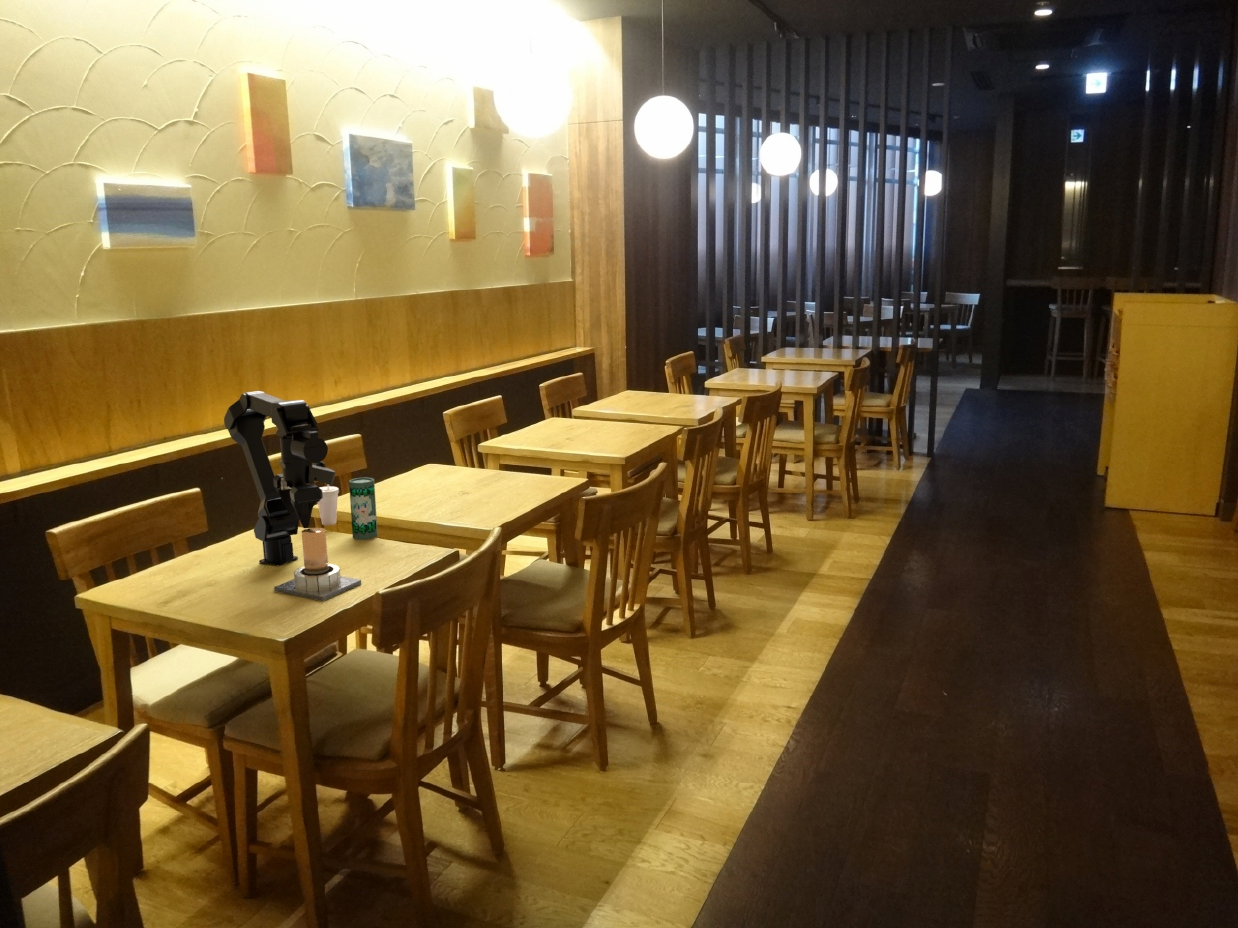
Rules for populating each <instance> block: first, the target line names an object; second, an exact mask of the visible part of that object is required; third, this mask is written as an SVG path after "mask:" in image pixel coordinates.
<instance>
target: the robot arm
mask: <svg viewBox="0 0 1238 928" xmlns="http://www.w3.org/2000/svg"><path fill="white" fill-rule="evenodd" d="M267 417H268V418H271V423H272V424H274V426H276V428H277V430H276V432H275V433H276V435H277V436H279V445H280V455H281V456H280V457H281V460H279V466H280V467H281V468H282V469H281V470H282V473H277V474H275V472H274V470H273V467H272V464H271V461H270V459H269V456H268V453H267V450H266V447H265V444H264V442H263V436H264V435H263V434H264V431H265V427H266V425H265V422H266V419H267ZM223 423H224V427H225V428H226V430H227V431H228V433H229V435H230V438H231V439H232V440H233V441H234V442H236V443H237V445H239V446H241V447H242V450H243V454H244V456H245V460H246V463H247V465H248V468H249V470H250V473H251V476H252V480H253V482H254V485H255V488H256V491H257V493H258V497H259V500H260V503H259V507H258V511H257V518H258V519H257V522H256V524H255V526H254V528H253V533H254V536H255V539H257V540H259V541H261V542H262V550H263V551H262V552H263V558H262V559H259V563H260V564H266V565H269V566H270V565H271V566H277V567H280V566H283V565H285V564H288V563H290V562H292V561H295V560H298V559H299V557H298V556H297V555H294V547H293V545H294V544H293V542H292V536H294V535H298V533H299V531H298V530H299V523H300V525H301V527H302V528H303V529H309V527H310V522H311V518H312V517H311V516H312V513H313V510H314V507H315V505H316V504H318V502H319V501H320V500H321V499H322V498H323V494H322V490H321V489H320V487H319V486H317V485H316V484H315V482H319V483H324V484H326V485H327V484H328V485H329V486H333V484H334V479H335V475H336V471H335V470H333V469H331V468H329V467H326V463H325V462H323V461H324V460H325V458H326V457H327V455H328V450H329V448H328V445H327V442H326V441H325V440H324V439H323V438H321V437H319V432H318V431H319V427H318V421H317V420H316V418H315V416H314V415H313V413H312V411H311V408H310V406H309V405H308V404H307V402H306V401H305V400H303V399H292V400H291V399H290V400H284V399H281V398H278V397H276V396H273V395H270V394H267V393H266V392H265V391H261V390H256V391H248V392H247V391H246V392H244V393H242V394H241V395H240V396H239V398H238V400H237V401H236V402H234V403H233V404H231V405H230V406H229V407H228V409H227V410H226V412H225V415H224V418H223Z"/></svg>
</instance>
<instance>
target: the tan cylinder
mask: <svg viewBox="0 0 1238 928" xmlns="http://www.w3.org/2000/svg"><path fill="white" fill-rule="evenodd" d="M301 540H302V541H301V542H302V554H303V566H304V567H305V569H304V573H305V575H307V576H318V575H324V574H327V573H329V567H328V564H329V558H328V549H327V548H328V545H327V535H326V529H325V528H323V527H310V528H304V529H303V530H301Z"/></svg>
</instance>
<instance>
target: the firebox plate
mask: <svg viewBox="0 0 1238 928" xmlns="http://www.w3.org/2000/svg"><path fill="white" fill-rule="evenodd" d="M328 567H329V573H327V574H324V575H318V576H307V575H305V573H304V569H305V567H304V565H303V566H301V567H299V568H296V569H295V571H294V572H293V579H291V580H288V581H285V582H283V583H280V584H277V585H275V586H273V589H274V590H273V592H275V593H281V594H286V595H290V596H294V597H300V598H305V599H309V600H314V601H318V602H319V601H320V602H325V601H326V600H329V599H331V598H334V597H336V596H338V595H340V594H343V593H345V592H347V591H349V590H351V589H354V588H355V587H358V586H360V585H362V579H358V578H353V577H348V576H342V575H341V569H340V567H339V566H338V565H336V564H333V563H328Z"/></svg>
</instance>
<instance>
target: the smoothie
mask: <svg viewBox="0 0 1238 928" xmlns="http://www.w3.org/2000/svg"><path fill="white" fill-rule="evenodd" d="M319 488H320V489H321V490H322V494H323V498H322V499H321V500H320V501H319V502H317V505H318V510H319V515H320V522H321V525H323V526H334V525H336V524H337V515H338V513H337V511H338V498H339V493H340V489H339V487H337V486H333V485H328V484H327V483H326V486H321V487H319Z"/></svg>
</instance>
